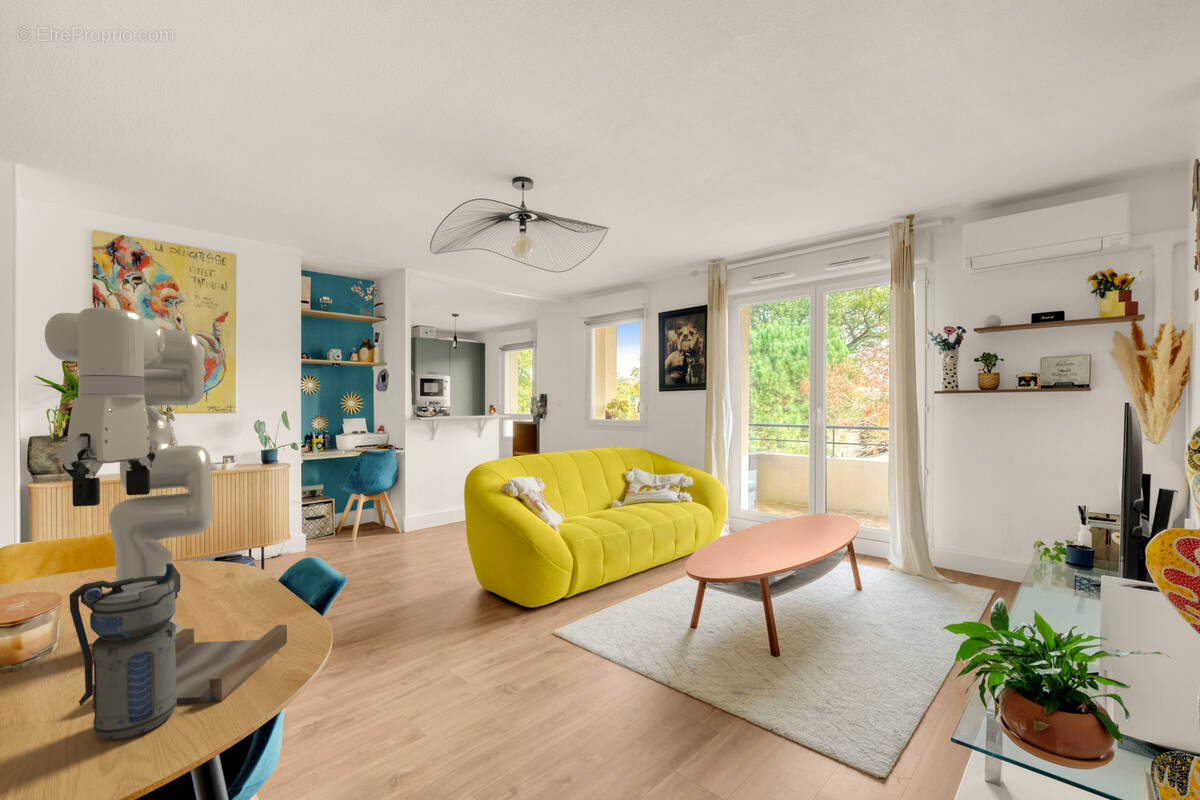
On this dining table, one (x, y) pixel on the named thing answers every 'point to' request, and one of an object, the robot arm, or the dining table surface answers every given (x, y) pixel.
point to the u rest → (219, 664)
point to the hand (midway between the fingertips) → (113, 499)
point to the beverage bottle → (129, 652)
